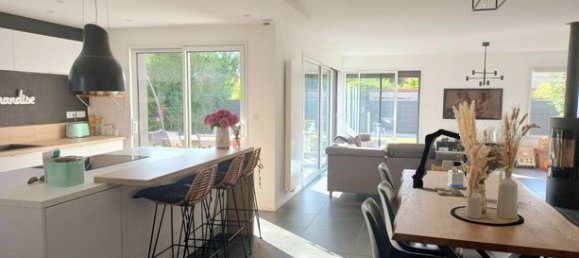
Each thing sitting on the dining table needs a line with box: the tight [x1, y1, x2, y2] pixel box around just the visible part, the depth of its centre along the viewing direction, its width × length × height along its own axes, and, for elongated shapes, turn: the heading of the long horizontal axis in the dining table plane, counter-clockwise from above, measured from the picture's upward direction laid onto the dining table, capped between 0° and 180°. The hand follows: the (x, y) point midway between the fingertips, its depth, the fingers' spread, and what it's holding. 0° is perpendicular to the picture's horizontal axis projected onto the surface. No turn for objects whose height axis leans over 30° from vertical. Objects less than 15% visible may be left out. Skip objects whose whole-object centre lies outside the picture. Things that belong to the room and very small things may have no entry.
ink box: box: [447, 169, 465, 189], centre depth 292 cm, size 9×8×13 cm
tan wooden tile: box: [449, 187, 464, 198], centre depth 273 cm, size 6×18×1 cm, turn 168°
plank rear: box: [434, 186, 451, 192], centre depth 280 cm, size 9×7×1 cm
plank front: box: [436, 190, 454, 197], centre depth 270 cm, size 9×7×1 cm
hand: (467, 176), depth 268 cm, fingers closed
